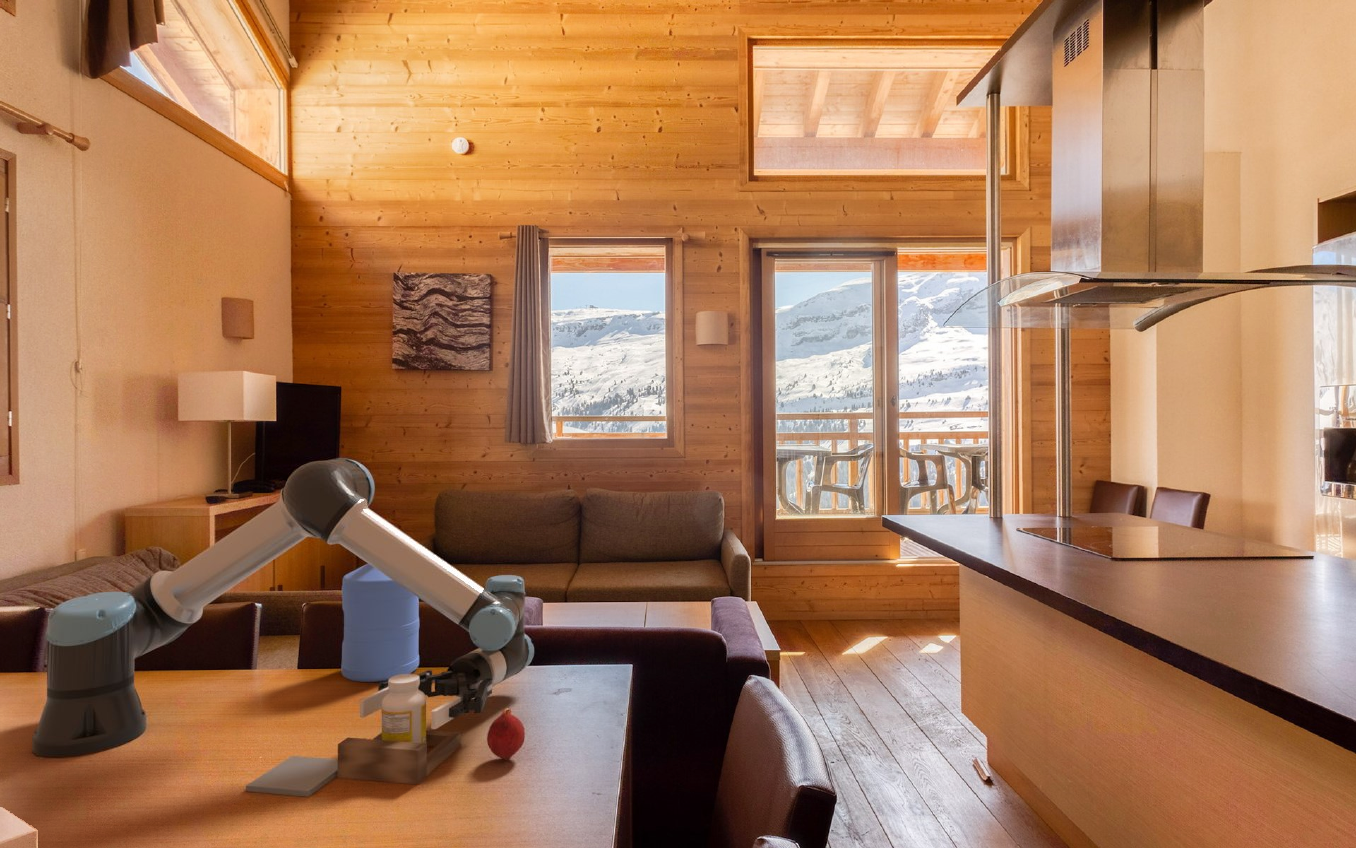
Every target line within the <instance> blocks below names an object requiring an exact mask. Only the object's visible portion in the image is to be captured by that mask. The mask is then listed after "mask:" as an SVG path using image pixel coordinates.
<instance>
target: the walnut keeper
mask: <svg viewBox="0 0 1356 848" xmlns="http://www.w3.org/2000/svg"><path fill="white" fill-rule="evenodd" d="M461 745H462V733H461V732H454V731H439V730H428V729H426V743H414V742H401V741H387V740H382V732H380V733H379V734H378V735H376V736H375V737H374V738H372V739H371V738H358V737H347V738H345V739H344V740H342V741H339V742H338V743H337V759H338V775H337V779H349V780H361V781H371V782H383V783H396V784H407V785H416V786H417V785H419V784H420V783H421V782H423V781H424V780H425V779H426V778H427V777H428V776H429V775H430V774H431V773H432V772H434V771H435V770H436V769H437V768H438V767H439V766H440V765H441V764H442V763H443V762H444V761H446V759H447V758H449V756H451V755H452V754H453V753H454V752H455V751H456V750H458V749H459V747H460V746H461ZM427 746H431V748H432V749H431V750H430V751H429V752H428V747H427ZM432 746H433V747H432Z"/></svg>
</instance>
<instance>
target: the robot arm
mask: <svg viewBox="0 0 1356 848" xmlns="http://www.w3.org/2000/svg"><path fill="white" fill-rule="evenodd" d="M375 489H376V488H375V481H374V478H373V474H371V472H370V470H369V469H368V468H367V467H365V466H364V464H361V462H358V461H357V460H353V459H349V458H346V457H344V458H343V457H337V458H332V459H328V460H327V459H326V460H316V461H310V462H307V463H306V464H303V465H301V466H299V467H298V468H296V469H295V470H294V471H292V473H291V475H289V477H288V478H287V481H286V482H285V486H284V487H283V488H282V489H281V490H280V494H279V499H278V501H277V502H275V503H274V504H272V505H270V506H269V507H268V508H266V509H264V510H263V511H262V512H260V513H259V514H257V515H256V516H254V517H252V519H250V520H249V521H246V522H245V523H244V524H242V525H241V526H239V527H237V528H236V529H235V530H233V531H232V532H231V533H228V534H227V535H226V536H224V537H223V538H221V539H220V540H219V541H216V542H215V543H214V544H212V545H211V546H209V547H208V548H206V549H205V550H203V551H202V552H201V553H199V554H197V555H196V556H195V557H193V558H192V559H190V560H188V561H186V562H184V564H182V565H180V566H179V567H177V568H176V569H174V570H173V571H170V570H159V571H157V572H156V573H154V574H153V575H151V576H149V577H148V578H147V579H145V580H143V581H142V582H141V583H138V584H137V585H136V586H134V587H133V588H131V589H130V590H128V591H126V592H124V591H102V592H95V593H91V594H87V595H85V596H77V597H75V598H71V599H68V600H66V601H64V602H61V603H60V604H58V605H56V606H55V607H54V608H53V609H52V610H51V611H50V613H49V615H48V619H47V628H46V630H45V638H46V700H45V704H44V707H43V710H42V713H41V715H40V716H41V717H40V718H39V721H38V725H37V728H36V729H35V731H34V733H33V735H32V738H31V739H32V743H31V744H32V745H31V746H32V748H31V749H32V753H33V754H34V755H37V756H40V757H45V758H63V757H74V756H81V755H82V756H83V755H86V754H92V753H96V752H100V751H103V750H109V749H112V748H115V747H118V746H120V745H123V744H126V743H128V742H130V741H132V740H134V739H136V738H138V737H139V736H141V735H143V733H145V731H146V730H147V713H146V711H145V710H144V709H143V706H142V702H141V700H140V697H139V694H138V692H137V688H136V686H135V659H137V658H138V657H141V656H143V655H145V654H148V653H149V652H151V651H153V650H155V649H157V648H160V647H162V646H166V645H168V644H170V643H171V642H173V641H175V640H176V639H177V638H179V637H180V636H181V635H182V634H183V633H184V632H186V630H187V629H188V628H189V627H190V626H192V625H193V624H194V623H197V622H198V621H199V620H200V619H201V618H202V616H203V612H204V611H203V610H204V608H205V606H207V605H208V604H210V603H212V602H213V601H215V600H217V598H219V597H220V596H222V595H224V594H225V593H226V592H228V591H229V590H230V589H233V588H234V587H235V586H236V585H238V584H239V583H242V581H244V580H246V579H247V578H248V577H250V576H251V575H253V574H254V573H256V572H257V571H259V570H261V569H262V568H264V567H265V566H266V565H268V564H269V563H270V562H273V560H275V559H277V558H278V557H280V556H281V555H282V554H284V553H286V552H287V551H288V550H290V549H291V548H293V547H294V546H295V545H297V544H299V543H300V542H302V541H304V540H305V539H306V538H308V537H310V538H314V539H315V538H316V539H318V538H319V539H320V540H322V541H324V542H325V543H326V544H328V545H331V546H332V545H337V544H339V545H341V546H342V547H343V548H345V550H348V551H349V552H351V553H353V554H354V555H355V556H357V557H358V558H359V559H361V560H363V561H364V562H366V564H370V565H371V566H373V567H374V568H376V569H377V570H379V571H380V572H382V573H383V574H385V575H386V576H388V577H389V578H390V579H392V580H393V581H395V582H396V583H398V584H399V585H401V586H402V587H404V588H405V589H407V590H408V591H410V592H411V593H413V594H414V595H415V596H417V597H418V598H419V599H420V600H421V601H423V602H425V603H426V604H427V605H429V607H430V606H431V608H433V609H435V610H436V611H438V612H439V613H440V614H442V615H444V616H445V617H446V618H448V619H449V620H450V621H452V622H453V623H455V624H457V625H458V626H460V627H461V628H462V629H464V630H465V631H466V632H468V633H469V636H470V639H471V641H472V642H473V644H474V646H476V647H478V648H476V649H475V650H472V651H470V652H468V653H466V654H464V655H462V656H460V657H458V658H456V659H455V660H453V661H452V662H451V663H450V664H449V666H448V668H447V669H446V671H442V672H441V673H436V674H433V670H431V669H427V670H424V671H422V672H420V673H415V674H416V675H419V678H420V684H419V687H418V690H420V691H422V692H423V693H424V694H425V696H426V697H427V698H435V697H439V696H443V697H447V696H448V697H454V698H452V699H451V700H448V701H447V702H445V703H443V704H442V705H439V706H437V707H436V708H434V709H432V710H431V712H430V713H431V715H430V725H431V726H430V728H431V730H436V729H439V728H440V727H441V726H443V725H445V724H447V723H449V722H450V721H451V720H454V719H455V718H458V717H459V716H461V715H462V714H469V713H470V712H471V711H474V714H477V715H478V714H481V713H482V712H483V710H484V707H485V704H486V701H487V698H488V697H489V696H490V695H492V694H493V687H495V686H496V685H498V684H500V683H502V682H504V681H506V680H508V679H510V678H511V677H513V676H515V675H518V674H520V672H522V671H523V670H524V669H525V668H527V667H528V666H529V665H530V664H531V662H532V660H533V658H534V656H535V647H534V644H533V642H532V638H530V637H529V636H528V635H527V634H526V632H525V608H526V607H525V600H526V599H525V598H526V595H527V594H526V590H525V580H524V579H523V577H521V576H519V575H514V574H513V575H512V574H504V575H503V574H502V575H495V576H490V577H489V578H488V579H487V580H486V581H485V588H484V587H483V586H482V585H480V584H479V583H477V582H476V581H475V580H473V579H472V578H470V577H469V576H467V575H466V574H464V573H463V572H462V571H460V570H458V569H457V568H456V567H455V566H453V565H451V564H450V563H448V562H447V561H446V560H444V559H443V558H441V557H440V556H438V555H437V554H435V553H434V552H432V551H431V550H429V549H428V548H427V547H426V546H424V545H422V544H420V542H418V541H416V540H415V539H413V538H412V537H411V536H410V535H408V534H407V533H405V532H404V531H402V530H401V529H399V528H398V527H396V526H395V525H393V524H392V523H390V522H389V521H388V520H386V519H385V518H384V517H382V516H380V515H379V514H378V513H376V512H374V511H373V510H372V509H370V508H369V506H370V505H371V503H372V502H373V500H374V496H375ZM433 684H434V691H433V690H432V689H433V687H432V685H433ZM377 685H378V686H377V688H378V689H377V692H374V693H372V694H370V695H368V696H366V697H363V698H362V699H360V700H359V718H361V719H362V718H363V719H364V718H366V717H369V716H370V715H372V714H374V713H376V712H378V711H379V710H382V701H383V699H384V697H385V696H386V695H388V694H389V693H390V690H389V688H388V680H386V681H380V682H379V683H378V684H377Z"/></svg>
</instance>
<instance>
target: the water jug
mask: <svg viewBox="0 0 1356 848" xmlns="http://www.w3.org/2000/svg"><path fill="white" fill-rule="evenodd" d="M341 598H342V602H341V603H342V604H341V605H342V607H341V608H342V609H341V610H343V624H344V625H343V640H342V644H341V649H342V650H341V663H340V666H341V668H340V670H341V671H340V672H341V674H342V676H343V677H344V678H345V679H347V680H349V681H353V682H362V683H374V682H375V683H377V682H386V681H388V680H389V679H390V678H391V677H393V676H396V675H401V674H413V672H414V671H417V669H418V668H419V665H420V655H419V639H420V638H419V634H420V633H419V629H420V617H419V611H420V607H419V606H420V605H419V604H420V603H419V599H420V598H418V597H417V596H415V595H414V594H413V593H411V592H410V591H408V590H407V589H405V588H404V587H402V586H401V585H399V584H398V583H396V582H395V581H393V580H392V579H390V578H389V577H388V576H386V575H385V574H383V573H382V572H380V571H379V570H377V569H376V568H374V567H373V566H371V565H370V564H368V563H366V564H364V565H363V566H360V567H358V568H356V569H354V570H353V571H350V572H349V573H347V574H345V575H344V576H343V577H342V585H341Z"/></svg>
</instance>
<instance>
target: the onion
mask: <svg viewBox="0 0 1356 848" xmlns="http://www.w3.org/2000/svg"><path fill="white" fill-rule="evenodd" d="M525 735H526V731H525V726H524V724H523V722H522V721H521V720H520V719H519V718H518V717H516V716H515V715H513V714H512V709H510V708H509V707H506V708H505V709H503V711H502V713H501V714H500V716H498V717H496V718H495V719H494V720H493V721H492V723H491V724H490V726H489V728H488V731H487V736H486V741H487V746H488V747H489V749H490V752H491V753H493V754H494V755H495V756H496V757H498V758H500V759H502V760H503V761H508V760H510V759H511V758H512V757H513V756H514V755H515V754H516V753H518V751H520V749H522V747H523V744H524V743H525V738H526V736H525Z"/></svg>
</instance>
